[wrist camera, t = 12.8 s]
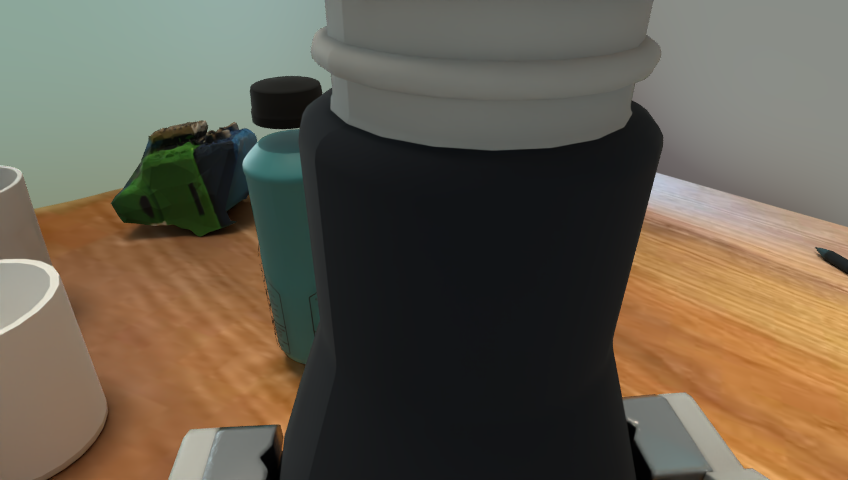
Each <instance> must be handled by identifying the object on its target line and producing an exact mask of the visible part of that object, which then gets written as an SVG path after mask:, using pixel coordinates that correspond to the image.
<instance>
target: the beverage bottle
mask: <svg viewBox="0 0 848 480" xmlns="http://www.w3.org/2000/svg"><path fill="white" fill-rule="evenodd" d="M321 95H322V89H321V85H320V82H319V81H318V80H316V79H313V78H309V77H301V76H285V77H284V76H283V77H275V78H268V79H264V80H261V81H258V82H256V83H254V84H253V85H251V87H250V96H251V106H252V109H251V114H252V120H253V123H254V124H256V125H258V126H260V127H264V128H270V129H293V128H300V124H301V119H302V114H303V112H304V111H305V109H306V107H307V106H308V105H309V104H310V103H312V102H313V101H314V100H316V99H317V98H318V97H320V96H321ZM298 138H299V129H296V130H286V131H280V132H276V133H272V134H269V135H267V136H265V137H263V138H261V139H260V140H259V141H258V142H257V143H256V144H255V145H254V147H253V148H252V149H251V150H250V151H249V152H248V154H247V155H246V157H245V158H244V160H243V164H242V166H243V171H244V174H245V176H246V180H247V185H248V190H249V195H250V200H251V205H252V210H253V215H254V220H255V225H256V230H257V235H258V240H259V245H260V253H261V259H262V263H261V265H262V264H263V269H264V273H263V274H265V275H264V276H265V278H264V279H266V284H267V289H268V293H269V298H270V304H269V303H268V304H269V305H270V306H271V307H272V312H273V317H274V319H273V320H272V323H274V321H275V326H276V327H275V328H276V329H275V328H274V329H275V330H276V331H277V332H275V330H274V332H275V335H276V333H277V337H278V340H279V342H278V343H279V344H280V346H281V347H280V346H279V347H280V348H281V349H282V350H283V351H284V352H285V354H286V355H287V356H288V357H290V358H291V359H292V360H294V361H296V362H299V363H302V364H306V362H307V359H308V356H309V353H310V349H311V346H312V343H313V340H314V337H315V333H316V330H317V327H318V324H319V321H320V316H319V307H318V299H317V291H316V283H315V275H314V267H313V258H312V250H311V242H310V234H309V226H308V217H307V209H306V201H305V193H304V185H303V177H302V168H301V160H300V152H299V144H298ZM258 250H259V247H258ZM258 257H259V254H258ZM261 271H262V270H261ZM262 272H263V271H262ZM262 276H263V275H262ZM264 282H265V280H264ZM264 285H265V284H264ZM265 290H266V289H265ZM266 294H267V291H266ZM269 298H267V299H269ZM270 310H271V309H270ZM271 318H272V316H271ZM275 337H276V336H275ZM278 343H277V344H278Z"/></svg>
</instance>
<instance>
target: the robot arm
mask: <svg viewBox="0 0 848 480" xmlns="http://www.w3.org/2000/svg"><path fill="white" fill-rule="evenodd" d="M622 400H623V405H624V410H625V416H626V421H627V427H628V433H629V439H630V445H631V451H632V457H633V463H634V469H635V475H636V480H770V479H768V478H767V477H765V476H763V475H762V474H760V473H759V472H757V471H756V470H754V469H753V468H750V469H744V468H743V466H742V465H741V464H740V462H739V461H738V460H737V458H736V457H735V455H734V454H733V453H732V451H731V450H730V449H729V447H728V446H727V444H726V443H725V442H724V440H723V439H722V438H721V436H720V435H719V433H718V432H717V431H716V429H715V428H714V427H713V425H712V424H711V422H710V421H709V420H708V418H707V417H706V416H705V414H704V413H703V412H702V410H701V409H700V407H699V406H698V405H697V403H696V402H695V401H694V399H693V398H692V397H691V396H690V395H688V394H687V393H672V394H659V395H656V394H652V395H641V396H630V397H622ZM282 443H283V434H282V430H281V426H280V425H260V426H240V427H220V428H206V429H190V430H189V432H188V433H187V434H186V436H185V437H184V438H183V441H182V443H181V446H180V449H179V452H178V454H177V457H176V460H175V463H174V465H173V468H172V471H171V473H170V476H169V479H168V480H280V473H281V465H282V456H283V451H282Z"/></svg>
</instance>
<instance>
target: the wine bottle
mask: <svg viewBox="0 0 848 480" xmlns="http://www.w3.org/2000/svg"><path fill="white" fill-rule="evenodd" d="M652 4H653V0H325V8H326V20H327V26H326V27H323V28H321V29H319V30H318V31H317V32H316V33H315V35H314V38H313V42H312V46H311V55H312V58H313V59H314V61H315V62H316V63H317V64H318V65H320V66H321V67H323V68H324V69H326V70H327V71H328V72H330V73H331V81H332V88H331V89H329V90H328V91H326V92H325V93H324V94H322V95H321V96H320V97H318V98H317V99H316V100H314V101H313V102H312V103H310V104H309V105H308V106H307V107H306V109H305V111H304V112H303V114H302V119H301V124H300V129H299V138H298V144H299V152H300V160H301V168H302V177H303V185H304V193H305V201H306V209H307V217H308V226H309V234H310V242H311V250H312V258H313V267H314V275H315V283H316V291H317V299H318V307H319V316H320V321H319V324H318V327H317V330H316V333H315V337H314V340H313V343H312V346H311V349H310V353H309V356H308V359H307V362H306V365H305V369H304V372H303V375H302V378H301V382H300V385H299V389H298V392H297V395H296V399H295V402H294V406H293V409H292V413H291V416H290V420H289V423H288V427H287V430H286V433H285V438H284V447H283V456H282V465H281V473H280V480H636V475H635V469H634V463H633V457H632V451H631V445H630V439H629V433H628V427H627V421H626V416H625V410H624V405H623V400H622V394H621V389H620V384H619V378H618V373H617V368H616V362H615V357H614V352H613V336H614V331H615V328H616V324H617V320H618V316H619V312H620V308H621V305H622V301H623V297H624V293H625V289H626V285H627V282H628V278H629V274H630V270H631V266H632V262H633V259H634V255H635V251H636V247H637V243H638V239H639V236H640V232H641V228H642V224H643V220H644V216H645V213H646V209H647V205H648V201H649V197H650V193H651V190H652V186H653V182H654V178H655V174H656V170H657V166H658V163H659V159H660V155H661V151H662V147H663V135H662V132H661V130H660V128H659V126H658V125H657V124H656V122H655V121H654V119H653V118H652V116H651V115H650V114H649V112H648V111H647V110H646V109H645V108H643V107H642V106H641V105H639V104H638V103H636V102H634V101H632V96H633V92H634V87H635V83H637V82H639V81H642V80H645V79H646V78H647V77H648V76H650V74H651V73H652V72H653V70H654V68H655V67H656V65H657V63H658V62H659V60H660V57H661V49H660V46H659V45H658V44H657V43H656V42H655V41H654V40H652V39H651V38H650V37H649V36H648V35H646V32H647V27H648V23H649V18H650V13H651V9H652Z"/></svg>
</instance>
